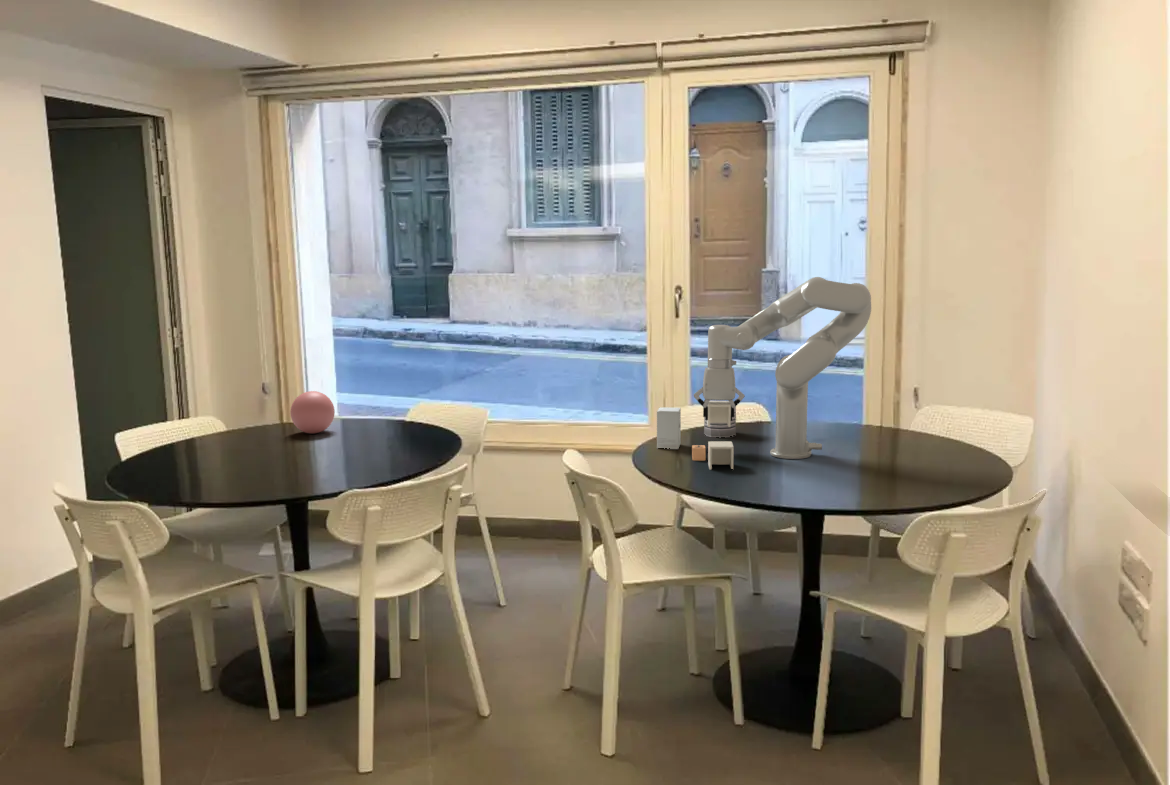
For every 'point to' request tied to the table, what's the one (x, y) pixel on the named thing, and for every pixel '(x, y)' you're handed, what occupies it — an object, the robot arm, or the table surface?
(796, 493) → the table surface
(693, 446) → the letter cube
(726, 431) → the can
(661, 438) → the supplement box
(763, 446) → the table surface
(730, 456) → the plain off-white cube
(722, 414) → the large plain cream block
